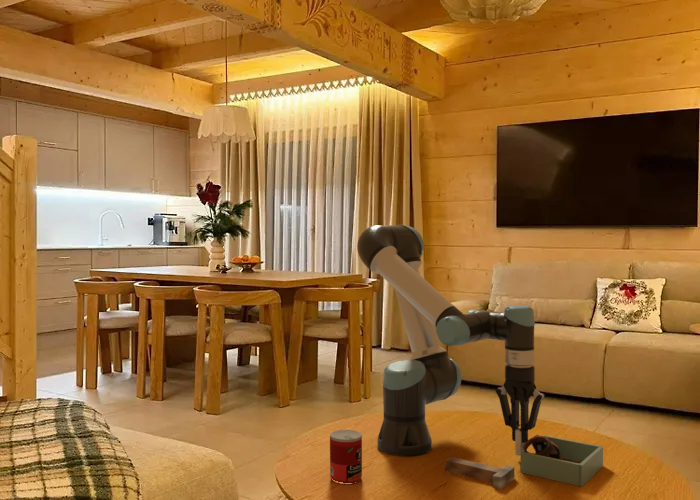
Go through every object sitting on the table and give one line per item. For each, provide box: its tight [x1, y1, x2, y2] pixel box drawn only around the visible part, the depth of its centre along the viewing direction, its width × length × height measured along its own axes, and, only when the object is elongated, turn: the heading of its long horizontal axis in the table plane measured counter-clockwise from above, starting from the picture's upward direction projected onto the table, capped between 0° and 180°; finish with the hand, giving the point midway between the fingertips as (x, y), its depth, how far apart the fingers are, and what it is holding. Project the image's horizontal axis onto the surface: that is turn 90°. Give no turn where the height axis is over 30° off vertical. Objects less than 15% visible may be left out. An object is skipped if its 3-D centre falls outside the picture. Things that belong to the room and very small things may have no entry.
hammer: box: [444, 456, 515, 490], centre depth 160 cm, size 16×8×3 cm, turn 53°
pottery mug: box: [523, 434, 563, 460], centre depth 168 cm, size 12×10×8 cm
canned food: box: [329, 429, 363, 484], centre depth 159 cm, size 8×8×11 cm
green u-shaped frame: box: [520, 435, 604, 487], centre depth 164 cm, size 15×17×5 cm
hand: (520, 453), depth 171 cm, fingers closed
